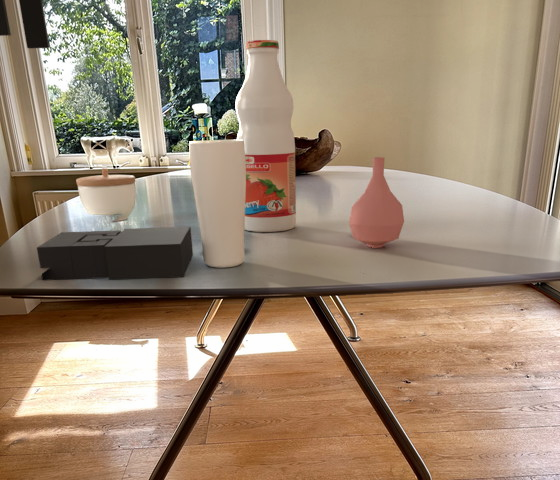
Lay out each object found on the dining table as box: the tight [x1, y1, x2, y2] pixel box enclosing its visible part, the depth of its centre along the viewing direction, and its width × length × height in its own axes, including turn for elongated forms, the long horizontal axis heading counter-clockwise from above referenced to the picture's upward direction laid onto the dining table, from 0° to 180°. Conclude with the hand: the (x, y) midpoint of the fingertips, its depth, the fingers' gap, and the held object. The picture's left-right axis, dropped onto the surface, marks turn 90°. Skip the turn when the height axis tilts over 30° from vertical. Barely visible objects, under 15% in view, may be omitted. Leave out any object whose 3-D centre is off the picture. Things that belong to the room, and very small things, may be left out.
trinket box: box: [75, 167, 137, 223], centre depth 113 cm, size 11×11×9 cm
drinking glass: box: [188, 139, 246, 269], centre depth 75 cm, size 7×7×15 cm
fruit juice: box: [235, 39, 297, 233], centre depth 96 cm, size 9×9×28 cm
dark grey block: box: [36, 229, 122, 281], centre depth 76 cm, size 8×10×4 cm
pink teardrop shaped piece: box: [348, 156, 405, 249], centre depth 83 cm, size 8×8×12 cm
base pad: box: [79, 226, 194, 281], centre depth 77 cm, size 13×12×4 cm
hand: (19, 42), depth 73 cm, fingers open, 13 cm apart
